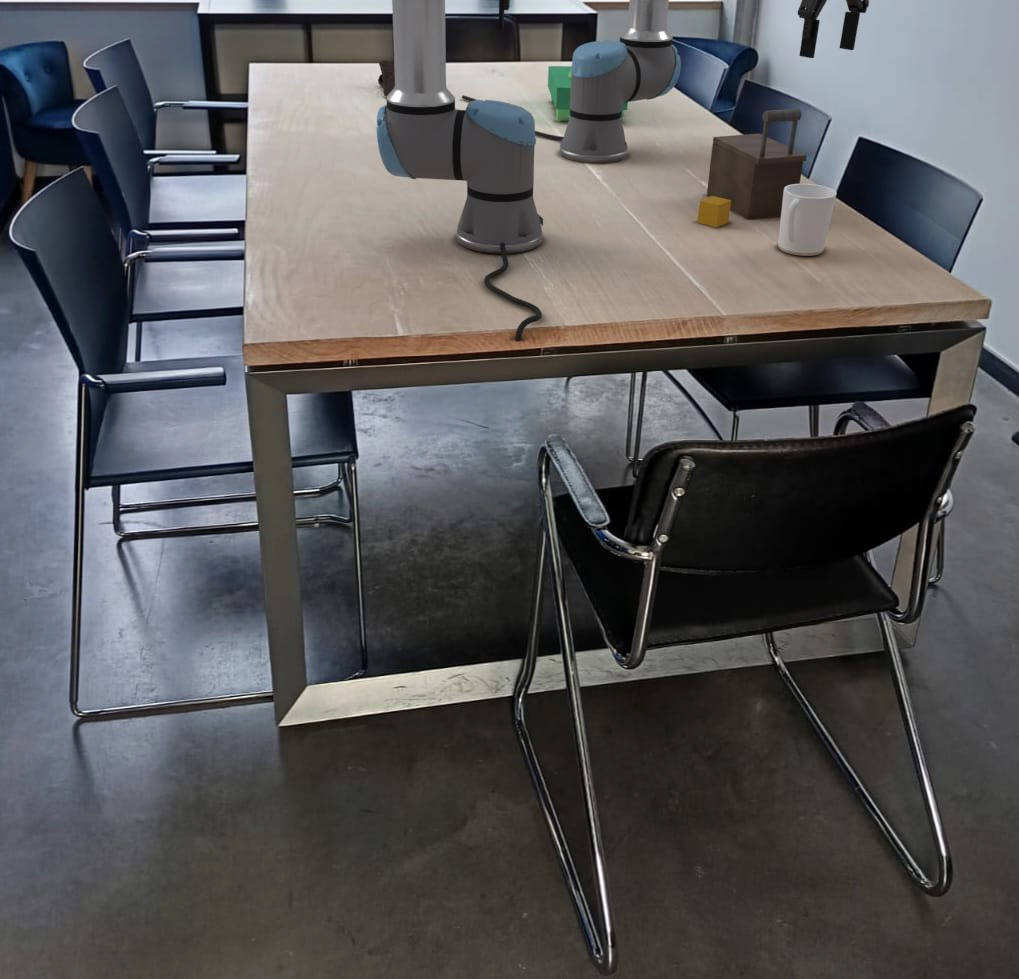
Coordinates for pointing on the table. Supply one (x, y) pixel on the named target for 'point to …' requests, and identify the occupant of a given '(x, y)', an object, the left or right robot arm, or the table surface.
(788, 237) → the mug
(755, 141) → the lid
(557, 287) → the table surface
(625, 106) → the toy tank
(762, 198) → the chest
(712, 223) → the block
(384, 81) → the axe head
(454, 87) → the table surface
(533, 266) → the table surface
